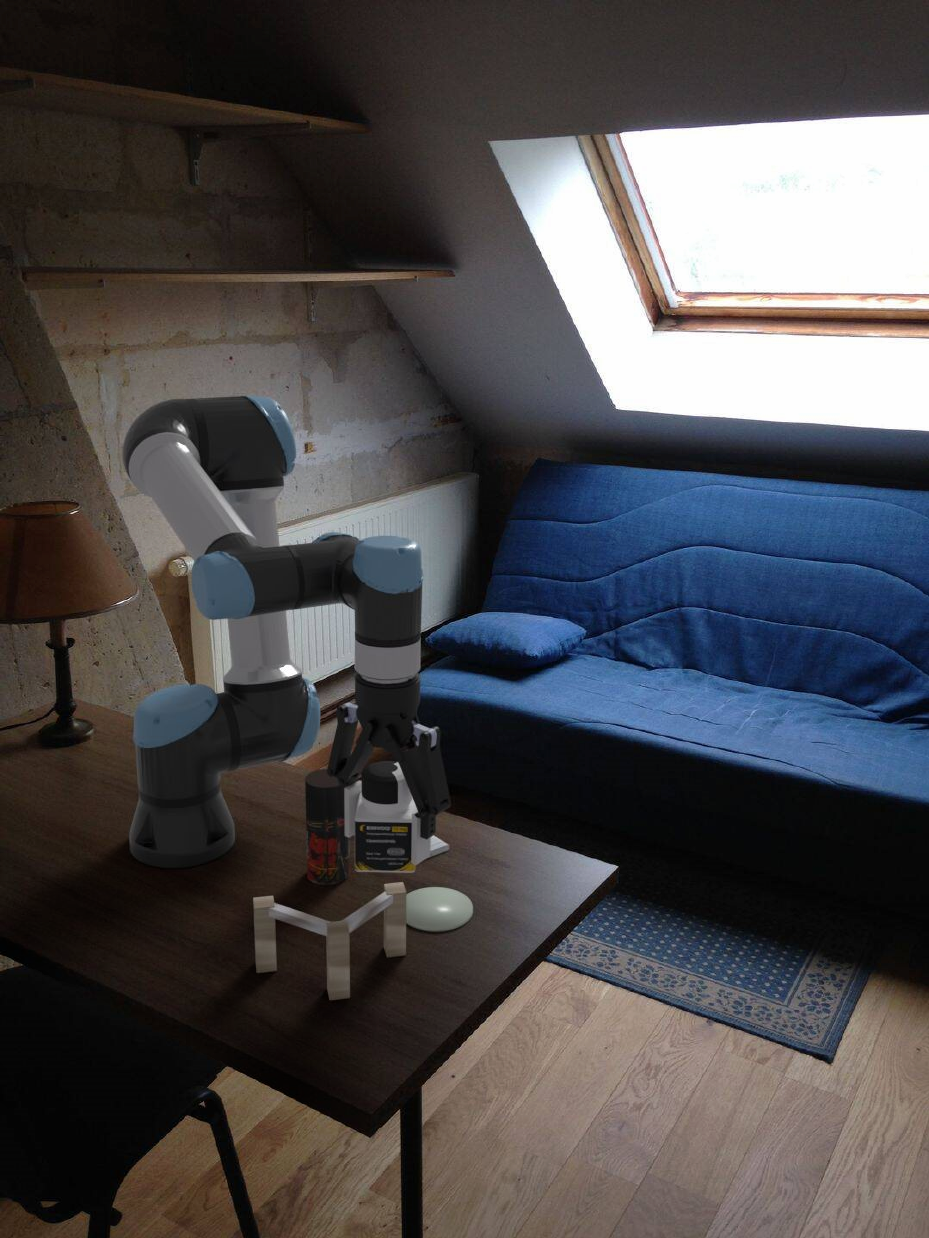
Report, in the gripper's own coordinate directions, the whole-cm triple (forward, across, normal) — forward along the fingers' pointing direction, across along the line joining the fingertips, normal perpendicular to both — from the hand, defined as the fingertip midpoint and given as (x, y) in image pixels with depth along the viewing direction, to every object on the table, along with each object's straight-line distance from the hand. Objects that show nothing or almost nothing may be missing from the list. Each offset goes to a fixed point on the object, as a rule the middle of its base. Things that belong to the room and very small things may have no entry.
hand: (386, 845), depth 133 cm
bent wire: (+16, +2, +7) cm, 17 cm away
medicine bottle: (+2, 0, 0) cm, 2 cm away
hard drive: (+16, +17, -24) cm, 33 cm away
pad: (+16, +1, -12) cm, 20 cm away
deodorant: (+16, +19, -10) cm, 27 cm away
